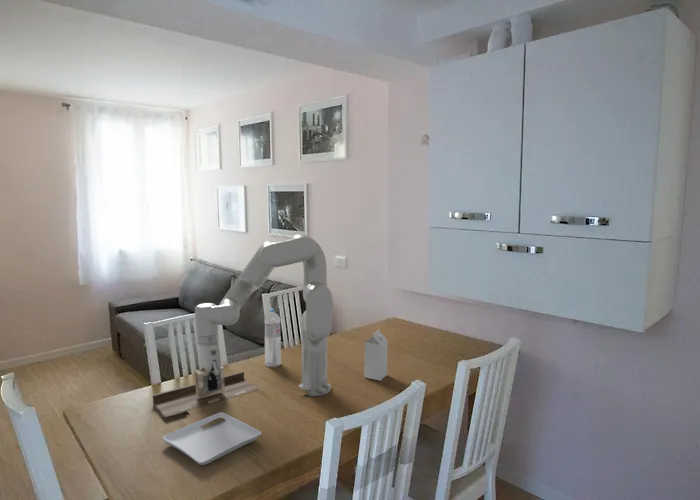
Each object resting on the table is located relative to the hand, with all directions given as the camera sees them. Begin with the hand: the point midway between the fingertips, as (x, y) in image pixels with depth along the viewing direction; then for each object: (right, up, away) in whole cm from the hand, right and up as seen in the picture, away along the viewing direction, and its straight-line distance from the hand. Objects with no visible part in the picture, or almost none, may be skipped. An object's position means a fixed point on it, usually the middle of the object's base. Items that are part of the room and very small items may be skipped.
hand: (210, 386), depth 161 cm
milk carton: (+61, -3, +23) cm, 65 cm away
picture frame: (0, -2, 0) cm, 2 cm away
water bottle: (+17, -1, +35) cm, 39 cm away
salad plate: (+9, -9, -27) cm, 30 cm away
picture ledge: (-1, -5, +1) cm, 5 cm away
